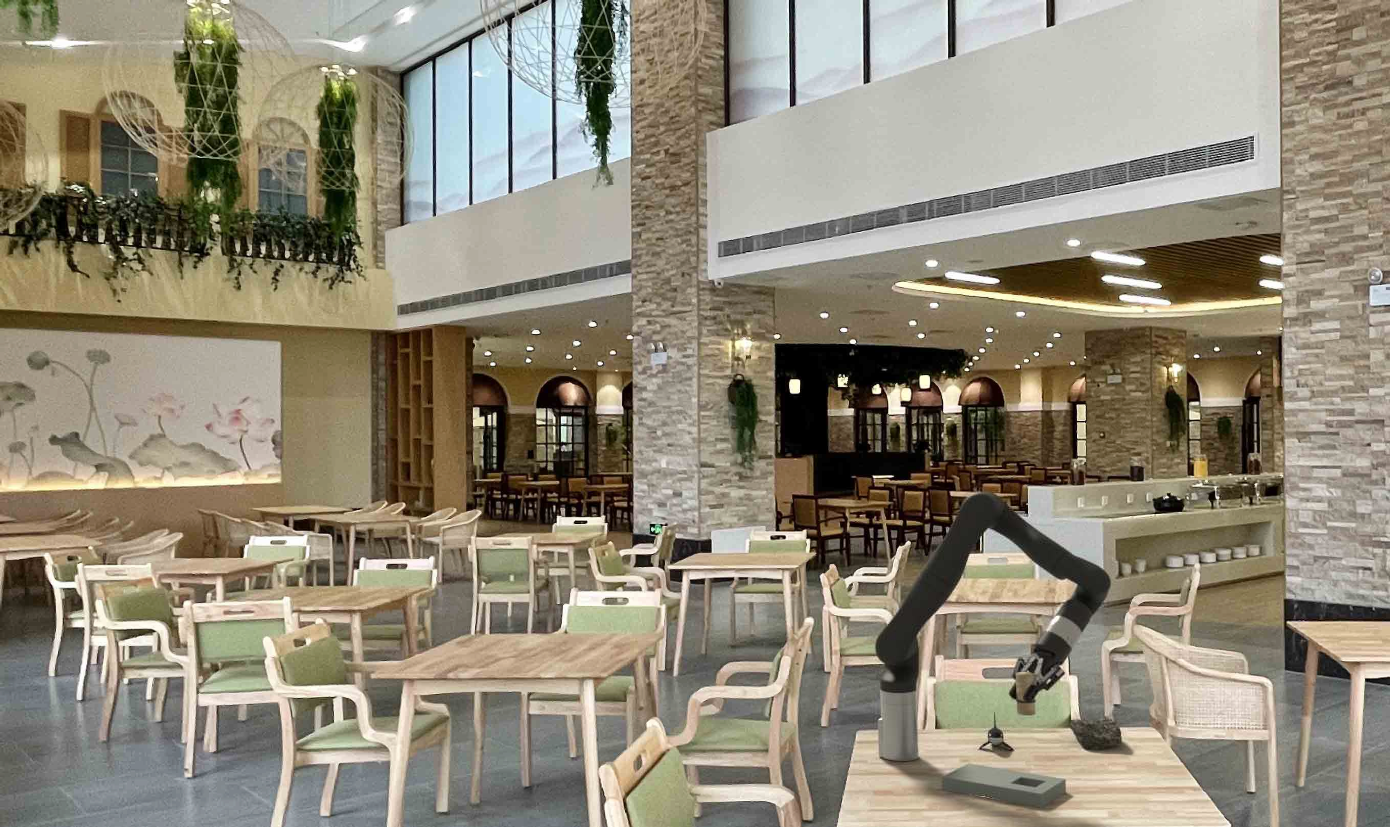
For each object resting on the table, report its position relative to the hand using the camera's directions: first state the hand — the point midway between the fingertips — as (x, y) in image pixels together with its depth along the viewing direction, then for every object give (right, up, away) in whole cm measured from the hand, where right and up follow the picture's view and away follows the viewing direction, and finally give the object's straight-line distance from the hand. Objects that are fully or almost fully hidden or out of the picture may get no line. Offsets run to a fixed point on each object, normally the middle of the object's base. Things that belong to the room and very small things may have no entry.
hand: (1019, 698), depth 270 cm
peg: (+2, -4, +1) cm, 4 cm away
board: (-3, -22, +4) cm, 23 cm away
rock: (+33, -23, +45) cm, 61 cm away
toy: (+6, -24, +46) cm, 52 cm away
